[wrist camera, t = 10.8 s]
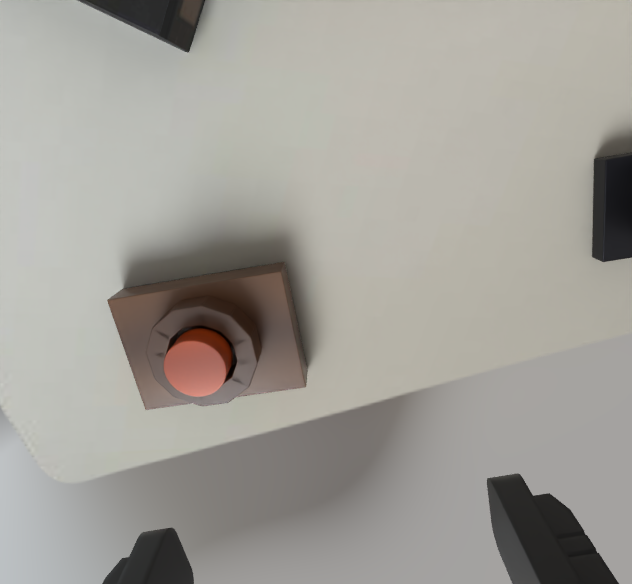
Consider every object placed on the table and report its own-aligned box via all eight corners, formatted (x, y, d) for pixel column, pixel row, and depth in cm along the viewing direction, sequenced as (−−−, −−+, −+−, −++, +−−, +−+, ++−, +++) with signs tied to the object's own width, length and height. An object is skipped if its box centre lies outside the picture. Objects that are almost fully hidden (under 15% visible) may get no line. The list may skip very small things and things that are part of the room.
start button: (238, 377, 27) (233, 392, 26) (182, 385, 28) (173, 400, 26) (224, 323, 26) (217, 336, 24) (166, 332, 26) (155, 345, 25)
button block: (307, 370, 31) (304, 403, 27) (157, 392, 32) (134, 426, 28) (284, 261, 28) (278, 280, 25) (122, 288, 29) (91, 310, 26)
